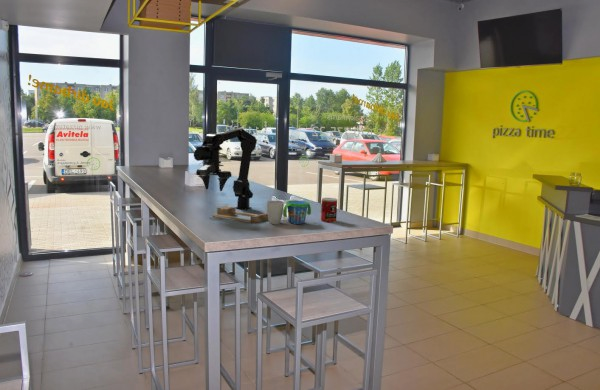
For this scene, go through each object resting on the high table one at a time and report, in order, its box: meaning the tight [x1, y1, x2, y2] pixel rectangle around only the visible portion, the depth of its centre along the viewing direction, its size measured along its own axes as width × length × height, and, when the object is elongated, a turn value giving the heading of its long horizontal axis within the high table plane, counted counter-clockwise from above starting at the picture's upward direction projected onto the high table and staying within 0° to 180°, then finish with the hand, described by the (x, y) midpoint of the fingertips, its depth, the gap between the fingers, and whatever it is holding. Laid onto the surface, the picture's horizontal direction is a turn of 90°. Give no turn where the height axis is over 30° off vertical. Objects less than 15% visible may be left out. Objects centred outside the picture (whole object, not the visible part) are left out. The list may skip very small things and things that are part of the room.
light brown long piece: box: [211, 210, 269, 224], centre depth 239 cm, size 14×25×3 cm, turn 58°
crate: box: [216, 205, 237, 217], centre depth 244 cm, size 7×6×4 cm
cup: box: [266, 200, 285, 225], centre depth 230 cm, size 8×8×10 cm
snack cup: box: [282, 199, 312, 225], centre depth 231 cm, size 16×10×10 cm
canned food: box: [320, 197, 338, 223], centre depth 239 cm, size 8×8×11 cm
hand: (213, 190), depth 245 cm, fingers open, 9 cm apart
